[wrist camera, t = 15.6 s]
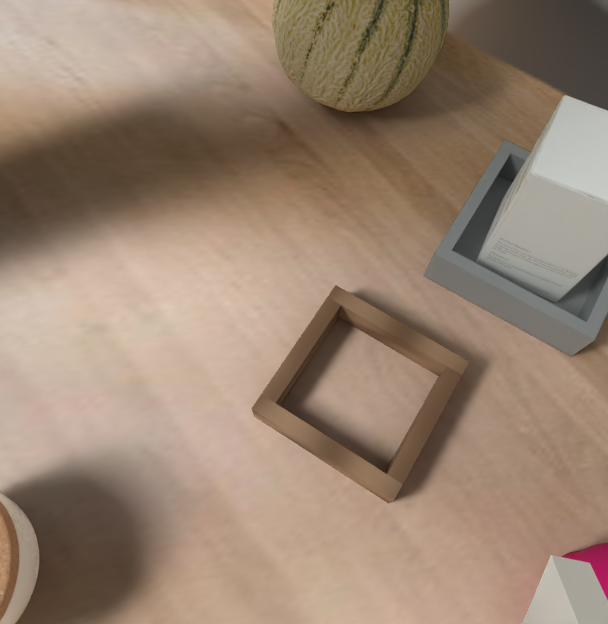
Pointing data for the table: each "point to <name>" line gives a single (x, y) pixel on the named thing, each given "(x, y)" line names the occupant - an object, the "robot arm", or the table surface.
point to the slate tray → (502, 293)
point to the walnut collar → (395, 338)
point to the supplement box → (555, 206)
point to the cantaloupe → (358, 48)
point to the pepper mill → (595, 562)
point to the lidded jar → (16, 561)
